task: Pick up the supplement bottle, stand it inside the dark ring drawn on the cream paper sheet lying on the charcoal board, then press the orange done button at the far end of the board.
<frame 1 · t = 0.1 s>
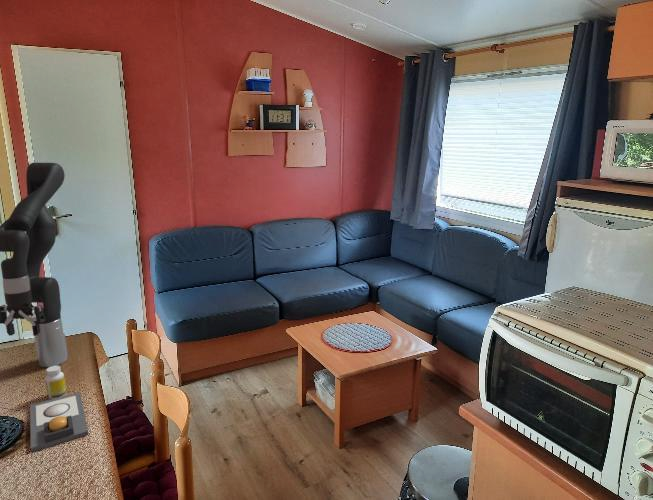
hand: (24, 334, 158), 17 cm above the table, tool pointing down, fingers open, 8 cm apart
done button: (58, 424, 132), point 4 cm above the table, slide at 0.0 cm
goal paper: (57, 414, 143), resting on charcoal board
supplement bottle: (57, 395, 153), on the table
charcoal board: (58, 420, 140), on the table
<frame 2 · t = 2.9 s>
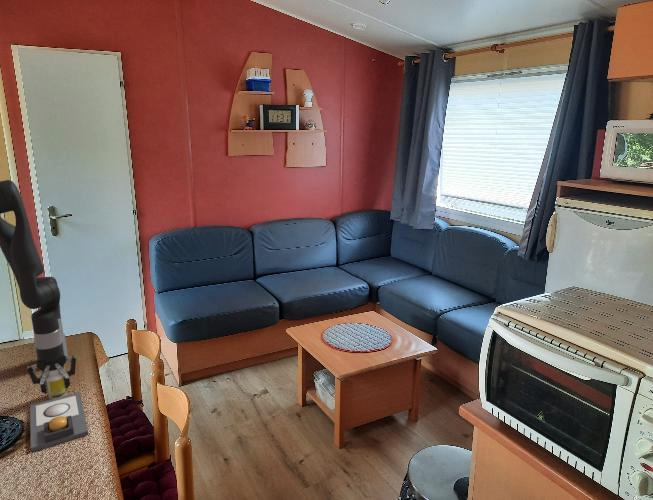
hand: (56, 389, 152), 2 cm above the table, tool pointing down, fingers closed on supplement bottle, 5 cm apart
supplement bottle: (57, 395, 153), on the table, touching gripper
everything else where it was.
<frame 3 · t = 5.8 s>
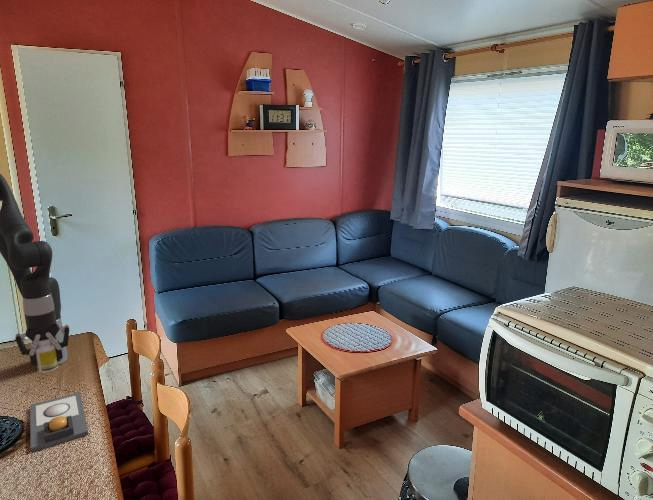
hand: (47, 362, 138), 18 cm above the table, tool pointing down, fingers closed on supplement bottle, 5 cm apart
supplement bottle: (48, 369, 139), point 15 cm above the table, touching gripper
everything else where it was.
when the fingers open (5 cm above the table, at t = 8.6 s): supplement bottle drops 1 cm, resting on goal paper.
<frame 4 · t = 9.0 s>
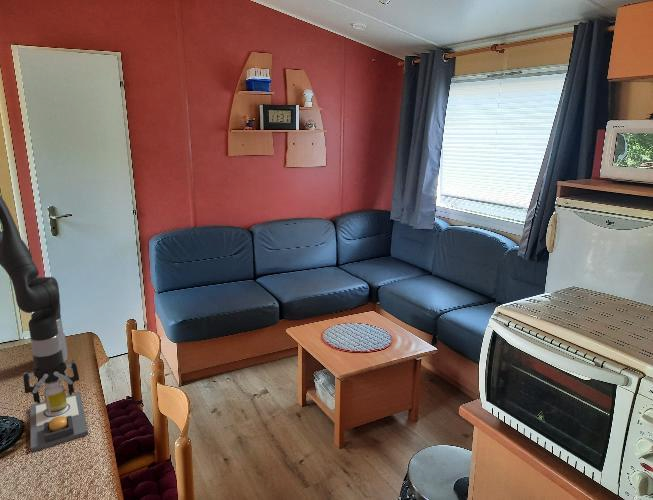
hand: (55, 398, 141), 6 cm above the table, tool pointing down, fingers open, 8 cm apart
supplement bottle: (57, 410, 143), point 1 cm above the table, touching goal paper
everything else where it was.
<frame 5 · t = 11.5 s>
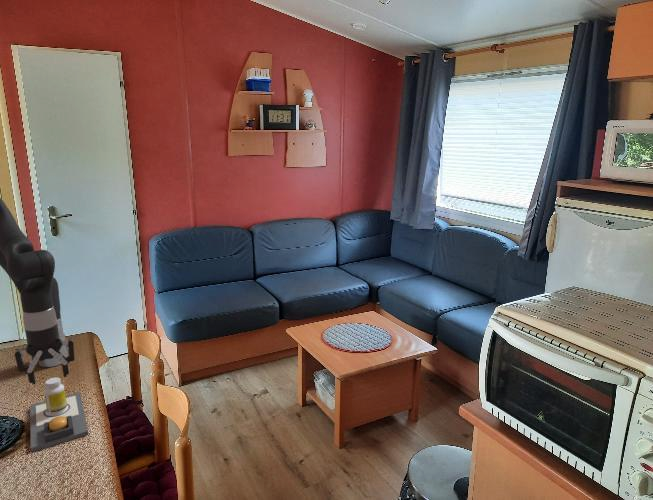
hand: (49, 379, 128), 18 cm above the table, tool pointing down, fingers open, 7 cm apart
nothing on the table moved.
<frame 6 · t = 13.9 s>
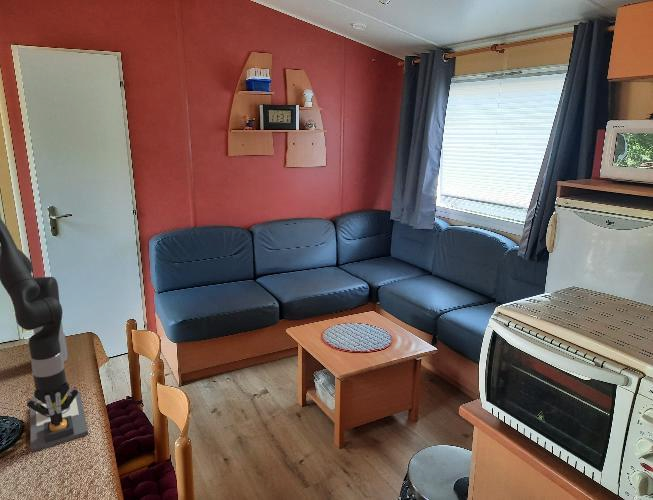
hand: (57, 423, 132), 4 cm above the table, tool pointing down, fingers closed
done button: (58, 426, 132), point 3 cm above the table, slide at 0.9 cm, touching gripper
everything else where it was.
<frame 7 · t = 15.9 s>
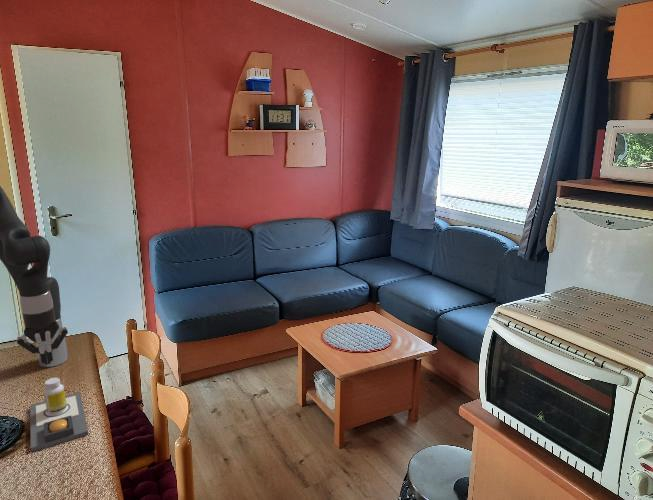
hand: (47, 363, 133), 20 cm above the table, tool pointing down, fingers closed
done button: (58, 427, 132), point 3 cm above the table, slide at 1.0 cm
everything else where it was.
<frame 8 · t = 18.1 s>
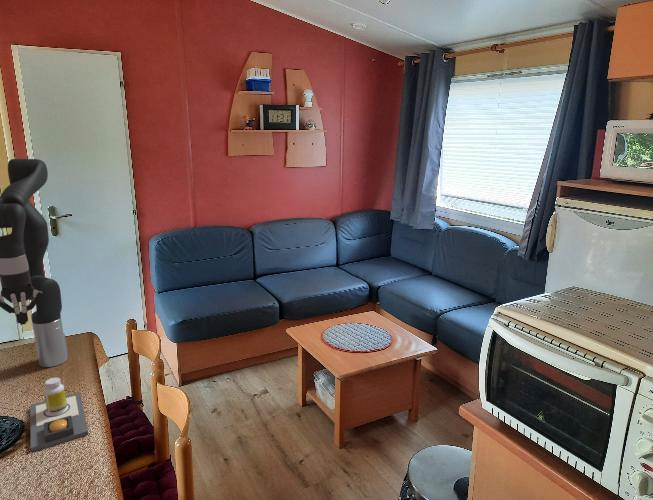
hand: (23, 323, 143), 27 cm above the table, tool pointing down, fingers closed
nothing on the table moved.
at the end: supplement bottle 0.2 cm from the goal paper (horizontally); supplement bottle tilted 1°; done button slide at 1.0 cm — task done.
